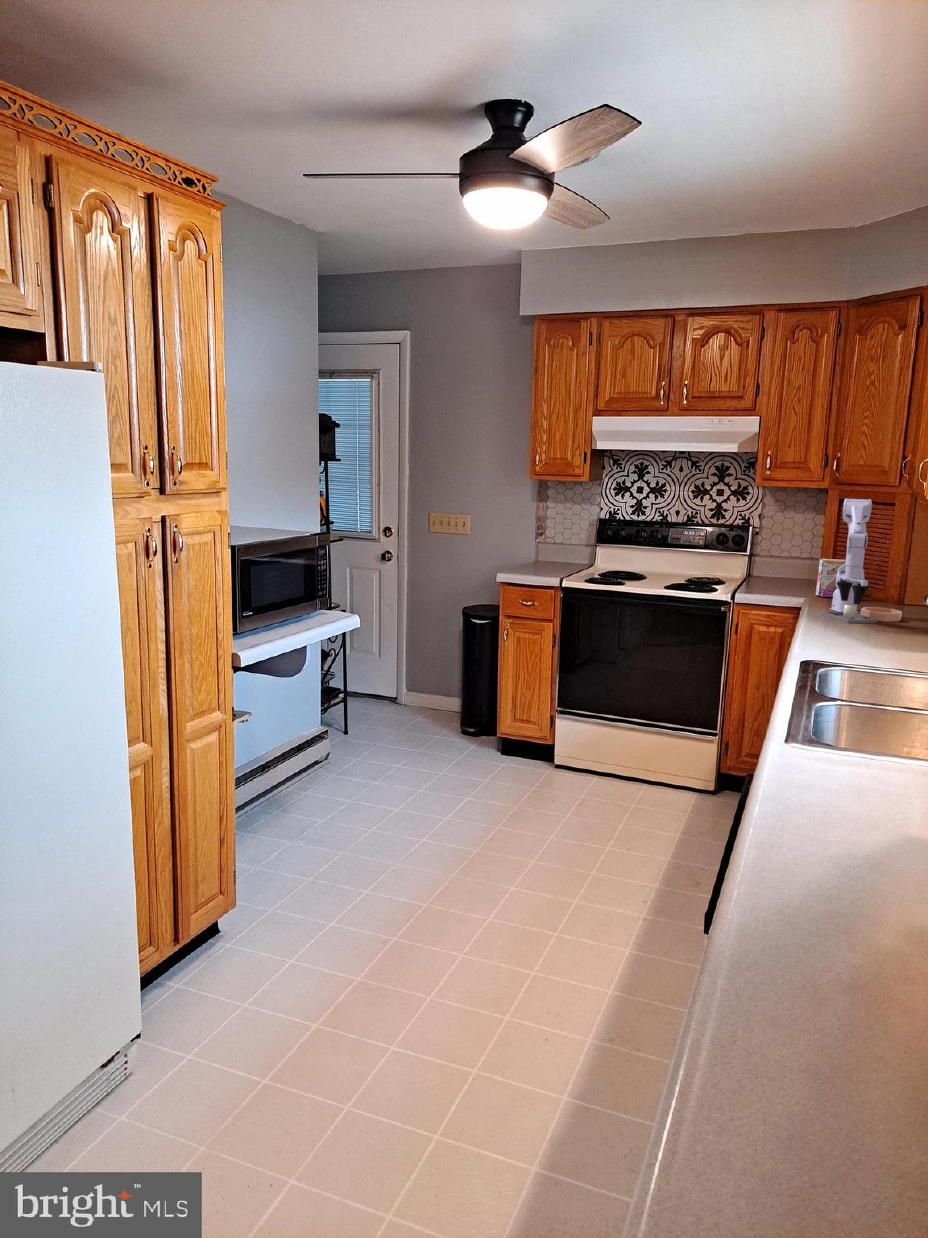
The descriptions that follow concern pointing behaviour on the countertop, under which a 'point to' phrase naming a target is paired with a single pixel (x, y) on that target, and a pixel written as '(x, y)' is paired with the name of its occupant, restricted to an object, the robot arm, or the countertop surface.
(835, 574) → the candy bar box
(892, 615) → the terracotta bowl
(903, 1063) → the countertop surface
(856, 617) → the parts tray
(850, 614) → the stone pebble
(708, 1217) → the countertop surface
